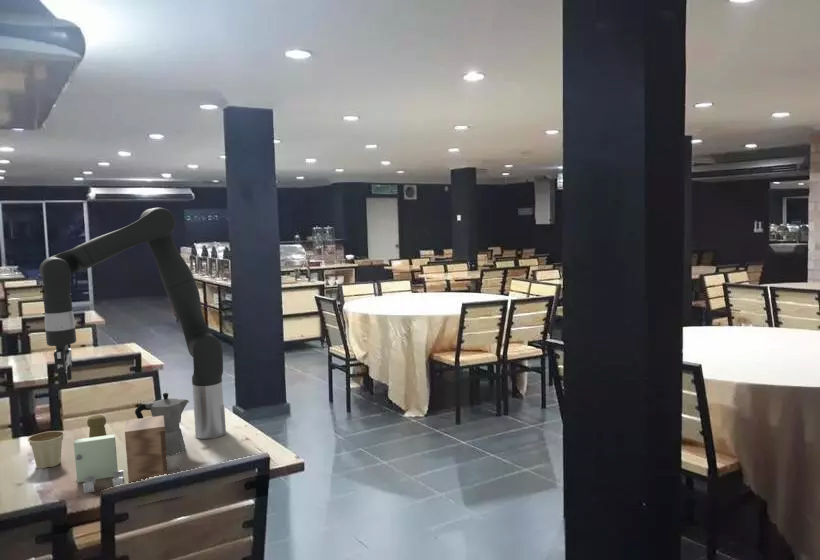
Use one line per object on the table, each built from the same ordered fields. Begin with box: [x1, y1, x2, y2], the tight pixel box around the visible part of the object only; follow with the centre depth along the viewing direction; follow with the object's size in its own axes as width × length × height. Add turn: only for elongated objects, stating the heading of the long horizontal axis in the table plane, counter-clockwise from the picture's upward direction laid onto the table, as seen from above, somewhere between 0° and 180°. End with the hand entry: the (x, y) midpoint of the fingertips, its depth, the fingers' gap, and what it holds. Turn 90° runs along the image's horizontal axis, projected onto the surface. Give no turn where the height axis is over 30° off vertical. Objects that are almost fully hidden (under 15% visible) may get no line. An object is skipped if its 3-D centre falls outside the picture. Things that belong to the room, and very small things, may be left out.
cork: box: [86, 414, 107, 438], centre depth 204 cm, size 6×6×11 cm
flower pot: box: [27, 430, 65, 469], centre depth 193 cm, size 9×9×9 cm
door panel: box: [73, 434, 119, 483], centre depth 182 cm, size 10×4×11 cm, turn 112°
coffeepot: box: [134, 392, 190, 456], centre depth 201 cm, size 15×9×18 cm, turn 116°
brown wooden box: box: [124, 415, 169, 483], centre depth 185 cm, size 10×11×14 cm
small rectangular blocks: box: [82, 469, 125, 494], centre depth 177 cm, size 9×6×2 cm, turn 112°
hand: (65, 383), depth 191 cm, fingers open, 8 cm apart
